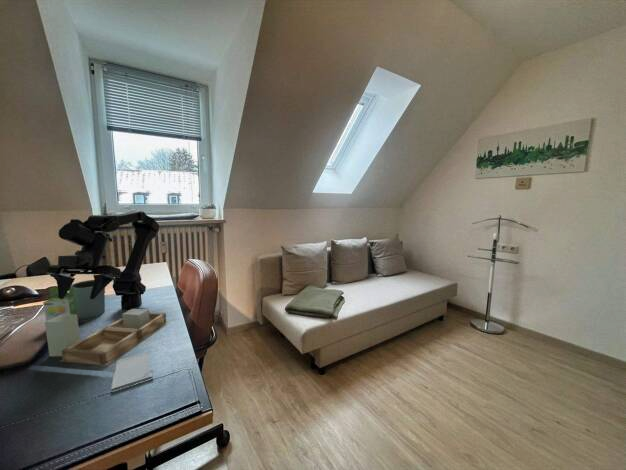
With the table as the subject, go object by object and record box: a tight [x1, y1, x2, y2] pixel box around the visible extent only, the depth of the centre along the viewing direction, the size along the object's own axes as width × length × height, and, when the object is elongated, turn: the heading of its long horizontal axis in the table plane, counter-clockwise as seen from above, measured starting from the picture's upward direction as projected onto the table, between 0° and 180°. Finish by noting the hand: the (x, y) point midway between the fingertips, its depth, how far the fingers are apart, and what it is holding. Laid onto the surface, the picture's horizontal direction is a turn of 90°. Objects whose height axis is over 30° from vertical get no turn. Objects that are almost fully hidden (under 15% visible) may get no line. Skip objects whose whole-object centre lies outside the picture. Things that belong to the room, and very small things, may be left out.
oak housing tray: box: [59, 311, 169, 366], centre depth 78 cm, size 24×14×4 cm, turn 174°
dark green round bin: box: [71, 279, 106, 319], centre depth 96 cm, size 10×10×12 cm
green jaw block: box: [44, 314, 81, 357], centre depth 70 cm, size 4×4×11 cm
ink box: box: [42, 287, 79, 322], centre depth 86 cm, size 7×4×13 cm, turn 105°
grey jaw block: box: [122, 308, 150, 329], centre depth 83 cm, size 4×6×6 cm, turn 84°
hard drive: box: [110, 351, 154, 392], centre depth 65 cm, size 2×8×12 cm
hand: (76, 299), depth 76 cm, fingers open, 9 cm apart
